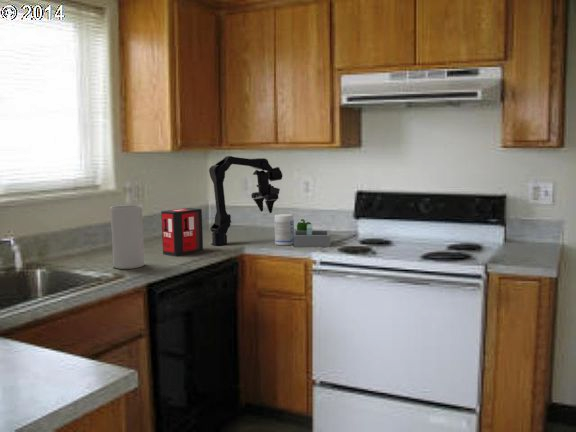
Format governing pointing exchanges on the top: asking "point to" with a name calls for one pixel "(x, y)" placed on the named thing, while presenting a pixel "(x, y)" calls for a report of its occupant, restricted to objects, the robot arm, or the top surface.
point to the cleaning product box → (182, 231)
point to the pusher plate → (309, 229)
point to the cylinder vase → (127, 236)
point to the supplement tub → (284, 229)
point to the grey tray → (312, 239)
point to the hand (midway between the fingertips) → (266, 212)
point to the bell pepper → (302, 225)
